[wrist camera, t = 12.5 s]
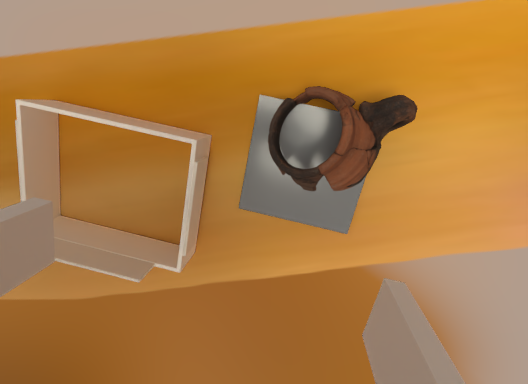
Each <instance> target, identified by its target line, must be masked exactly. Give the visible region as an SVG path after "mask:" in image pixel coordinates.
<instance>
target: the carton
mask: <svg viewBox="0 0 528 384" xmlns="http://www.w3.org/2000/svg"><path fill="white" fill-rule="evenodd" d="M16 113H17V120H15V125H16V140H17V154H18V168H19V183H20V197H21V202H22V201H25V200H28V199H31V198H34V197H35V198H39V199H43V200H48V201H52V204H53V228H54V253H55V261H58V262H62V263H66V264H70V265H74V266H77V267H81V268H85V269H89V270H93V271H97V272H100V273H104V274H108V275H112V276H116V277H120V278H123V279H127V280H131V281H135V282H140V281H141V280H142V279H143V278H144V277H145V276H146V275H147V273H148V272H149V271H150V270H151V269H152V268H153V267H154V266H156V267H160V268H164V269H167V270H171V271H175V272H179V273H180V272H181V271H182V269H183V268H184V267H185V265H186V264H187V263H188V261H189V260H190V258H191V257H192V256H193V254H194V253H195V249H196V242H197V235H198V228H199V221H200V214H201V207H202V200H203V193H204V186H205V179H206V172H207V165H208V158H209V151H210V144H211V137H212V135H208V134H204V133H199V132H195V131H190V130H186V129H181V128H177V127H172V126H168V125H164V124H159V123H155V122H150V121H146V120H141V119H137V118H132V117H128V116H123V115H119V114H114V113H110V112H105V111H101V110H97V109H92V108H88V107H83V106H79V105H74V104H70V103H65V102H61V101H56V100H25V99H16ZM58 113H59V114H63V115H68V116H72V117H77V118H81V119H85V120H90V121H94V122H99V123H103V124H108V125H112V126H116V127H121V128H125V129H130V130H134V131H138V132H143V133H147V134H152V135H156V136H160V137H165V138H169V139H174V140H178V141H183V142H187V143H191V144H192V148H191V157H190V165H189V173H188V181H187V189H186V197H185V206H184V214H183V222H182V230H181V238H180V245H177V244H173V243H169V242H165V241H161V240H157V239H153V238H149V237H145V236H141V235H137V234H133V233H129V232H125V231H121V230H117V229H113V228H109V227H105V226H101V225H97V224H93V223H89V222H85V221H81V220H77V219H73V218H69V217H65V216H61V209H60V167H59V124H58Z"/></svg>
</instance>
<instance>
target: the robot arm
mask: <svg viewBox="0 0 528 384" xmlns="http://www.w3.org/2000/svg"><path fill="white" fill-rule="evenodd" d="M53 262H55V253H54V228H53V204H52V201H48V200H43V199H39V198H35V197H34V198H31V199H28V200H25V201H22V202H20V203H17V204H14V205H11V206H8V207H6V208H3V209H0V297H1V296H3V295H4V294H6V293H8V292H9V291H11V290H12V289H14V288H15V287H17V286H18V285H20V284H21V283H23V282H24V281H26V280H27V279H29V278H30V277H32V276H34V275H35V274H37V273H38V272H40V271H41V270H43V269H44V268H46V267H47V266H49V265H50V264H52V263H53ZM362 336H363V340H364V344H365V347H366V351H367V354H368V358H369V361H370V365H371V368H372V372H373V375H374V379H375V382H376V384H465V382H464V380H463V379H462V377H461V375H460V374H459V372H458V370H457V369H456V367H455V365H454V364H453V362H452V360H451V359H450V357H449V355H448V354H447V352H446V350H445V349H444V347H443V345H442V344H441V342H440V341H439V339H438V337H437V335H436V334H435V332H434V331H433V329H432V327H431V325H430V324H429V322H428V320H427V319H426V317H425V316H424V314H423V312H422V311H421V309H420V307H419V306H418V304H417V302H416V301H415V299H414V297H413V296H412V294H411V292H410V291H409V289H408V287H407V286H406V284H405V283H404V282H399V281H395V280H390V279H386V278H384V280H383V283H382V285H381V288H380V290H379V293H378V296H377V298H376V301H375V304H374V306H373V309H372V311H371V314H370V316H369V319H368V322H367V324H366V327H365V329H364V332H363V335H362Z"/></svg>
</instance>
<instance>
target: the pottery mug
mask: <svg viewBox="0 0 528 384" xmlns="http://www.w3.org/2000/svg"><path fill="white" fill-rule="evenodd" d="M315 98H319V99H324V100H327V101H329V102H330V103H332V104H333V105H334V106H335V107H336V109H337V110H338V111H339V112H340V116H341V119H342V133H341V138H340V141H339V144H338V146H337V148H336V149H335V151H334V153H333V154H332V155H331V156H330V157H329V158H328V159H327V160H326V161H324V162H323V163H321V164H320V165H318V166H317V167H314V168H309V169H301V168H297V167H294V166H292V165H290V164H289V163H288V162H287V161H286V160H285V158H284V157H283V155H282V152H281V149H280V143H279V141H280V132H281V128H282V125H283V123H284V121H285V119H286V117H287V116H288V114H289V113H290V112H291V110H292V109H293V108H294V107H296V106H297V105H298V104H303V103H307V102H308V101H310V100H311V99H315ZM354 104H355V101H354V100H353V99H352V98H350V97H349V96H347V95H344V94H342V93H340V92H338V91H335V90H331V89H329V88H325V87H320V86H316V87H308V88H306V89H305V92H304V93H302V94H300V95H299V96H297V97H296V98H295V99H291V98H286V99H285V100H284V101H283V102H282V103H281V105H280V106H279V107H278V109H277V111H276V112H275V114H274V116H273V118H272V120H271V123H270V128H269V135H268V145H269V152H270V155H271V157H272V159H273V161H274V162H275V164H276V166H277V167H278V168H279V170H280V172H281V173H282V175H285V174H286V173H287V174H288V175H290V176H291V178H292V179H293V181H294V182H295V183H296V184H298V185H300V186H301V187H302V188H303V189H304V190H307V191H316V185H317V184H318V182H319V180H320V179H321V178H322V177H323V176H325V177H326V180H327V181H328V182H329V185H330V186H331V188H332V189H333V191H342V190H345V189H348V188H351V187H353V186H355V185H357V184H359V183H360V182H361V181H362V180H363V179H364V178H365V176H366V175H367V173H368V172H369V170H370V169H371V167H372V165H373V163H374V161H375V160H376V158H377V155H378V153H379V150H380V148H381V140H382V139H383V137H384V136H385V135H386V134H387V133H389V132H390V131H392V130H395V129H397V128H400V127H402V126H404V125H406V124H408V123H410V122H412V121H413V120H414V119H415V116H416V112H417V106H416V104H415V103H414V101H412V100H411V99H409V98H408V97H406V96H404V95H397V96H393V97H389V98H386V99H383V100H381V101H379V102H375V103H369V102H366V101H364V102H362V103H361V104H360V106H359V112H360V113H359V112H358V111H357V110H355V109H354V108H353V107H352V106H353V105H354Z"/></svg>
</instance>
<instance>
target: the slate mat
mask: <svg viewBox="0 0 528 384" xmlns="http://www.w3.org/2000/svg"><path fill="white" fill-rule="evenodd" d="M283 101H284V100H283V99H278V98H273V97H269V96H264V95H260V96H259V102H258V107H257V112H256V118H255V123H254V128H253V134H252V139H251V145H250V150H249V155H248V161H247V166H246V171H245V177H244V182H243V187H242V193H241V198H240V203H239V208H240V209H244V210H249V211H253V212H257V213H261V214H265V215H269V216H274V217H278V218H282V219H286V220H290V221H295V222H299V223H303V224H307V225H311V226H316V227H320V228H324V229H328V230H332V231H336V232H341V233H345V234H347V233H348V230H349V227H350V224H351V221H352V218H353V215H354V211H355V208H356V205H357V202H358V199H359V196H360V193H361V190H362V187H363V184H364V181H365V178H366V176H365V178H364V179H363V180H362V181H361V182H360V183H359V184H357V185H355V186H353V187H351V188H348V189H345V190H342V191H333V189H332V188H331V186H330V185H329V182H328V181H327V180H326V177H325V176H323V177H322V178H321V179H320V180H319V182H318V184H317V185H316V191H307V190H304V189H303V188H302V187H301V186H300V185H298V184H296V183H295V182H294V181H293V179H292V178H291V176H290V175H288V174H287V173H286V174H285V175H282V173H281V172H280V170H279V168H278V167H277V166H276V164H275V162H274V161H273V159H272V157H271V155H270V152H269V145H268V135H269V128H270V123H271V120H272V118H273V116H274V114H275V112H276V111H277V109H278V107H279V106H280V105H281V103H282V102H283ZM341 133H342V119H341V116H340V112H339V111H335V110H330V109H325V108H320V107H316V106H311V105H306V104H298V105H297V106H296V107H294V108H293V109H292V110H291V112H290V113H289V114H288V116H287V117H286V119H285V121H284V123H283V125H282V128H281V132H280V141H279V143H280V149H281V152H282V155H283V157H284V158H285V160H286V161H287V162H288V163H289V164H290V165H292V166H294V167H297V168H301V169H309V168H314V167H317V166H318V165H320V164H321V163H323V162H324V161H326V160H327V159H328V158H329V157H330V156H331V155H332V154H333V153H334V151H335V149H336V148H337V146H338V144H339V141H340V138H341Z"/></svg>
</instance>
